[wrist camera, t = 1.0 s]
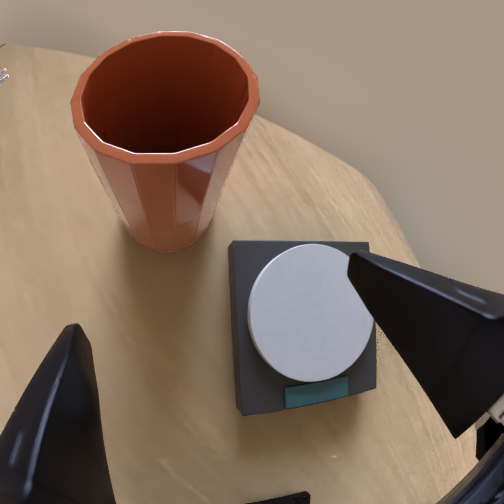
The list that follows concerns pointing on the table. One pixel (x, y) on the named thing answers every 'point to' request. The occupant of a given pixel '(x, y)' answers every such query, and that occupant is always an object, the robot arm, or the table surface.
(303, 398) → the scale
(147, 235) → the tumbler
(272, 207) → the table surface
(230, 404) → the table surface
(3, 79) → the charger
